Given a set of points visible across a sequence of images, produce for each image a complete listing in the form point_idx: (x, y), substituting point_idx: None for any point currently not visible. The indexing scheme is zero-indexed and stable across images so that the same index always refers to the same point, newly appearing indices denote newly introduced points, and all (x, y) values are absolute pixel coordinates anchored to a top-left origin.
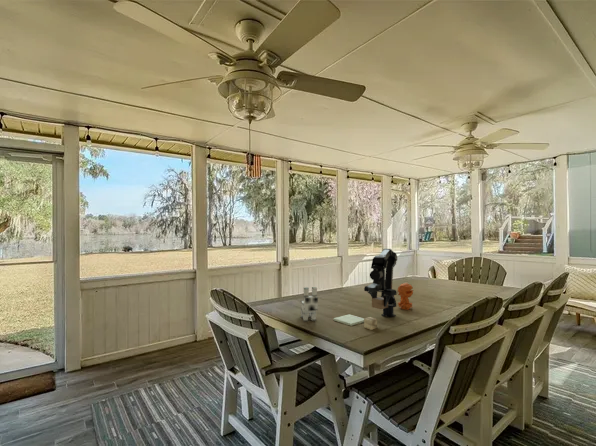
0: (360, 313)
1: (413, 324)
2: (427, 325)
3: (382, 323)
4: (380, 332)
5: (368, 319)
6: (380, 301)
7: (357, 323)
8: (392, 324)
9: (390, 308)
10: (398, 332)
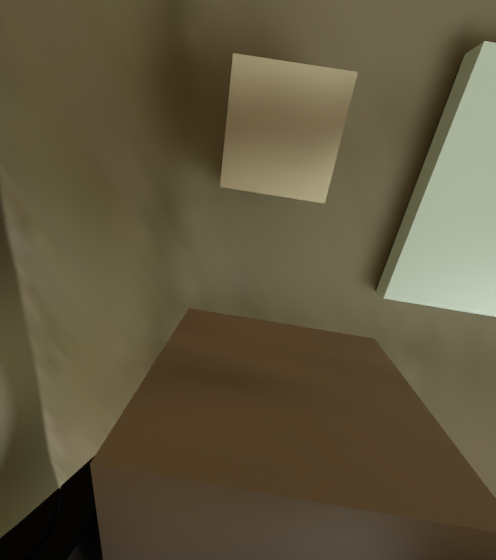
0: (485, 421)
1: (112, 401)
2: (58, 423)
3: (256, 314)
4: (147, 86)
5: (291, 80)
6: (144, 423)
7: (425, 167)
8: None
9: None
10: (63, 199)
